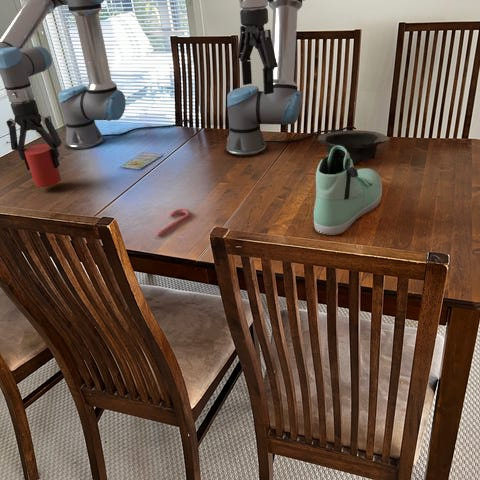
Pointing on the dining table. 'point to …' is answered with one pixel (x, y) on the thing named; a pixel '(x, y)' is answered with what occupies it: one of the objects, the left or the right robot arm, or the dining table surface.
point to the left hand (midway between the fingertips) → (43, 167)
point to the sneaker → (343, 192)
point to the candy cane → (177, 222)
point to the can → (42, 165)
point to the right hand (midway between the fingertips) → (257, 88)
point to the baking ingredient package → (141, 161)
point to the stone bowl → (354, 143)
